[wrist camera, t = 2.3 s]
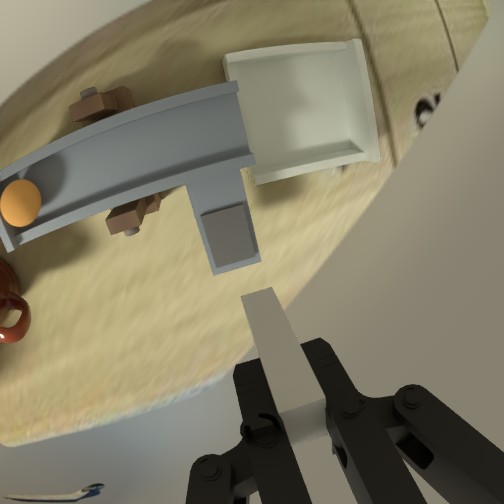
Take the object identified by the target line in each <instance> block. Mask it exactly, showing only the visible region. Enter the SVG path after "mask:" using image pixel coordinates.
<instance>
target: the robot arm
mask: <svg viewBox="0 0 504 504" xmlns="http://www.w3.org/2000/svg"><path fill="white" fill-rule="evenodd" d="M241 299H242V303H243V306H244V309H245V313H246V316H247V320H248V323H249V326H250V330H251V333H252V336H253V340H254V343H255V346H256V349H257V352H258V355H259V358H257V359H254V360H251V361H247V362H244V363H241V364H237V365H236V366H235V369H234V373H233V379H234V384H235V387H236V393H237V396H238V401H239V406H240V410H241V414H242V419H243V422H242V424H241V426H240V433H241V435H242V437H243V438H242V440H241V441H240V443H239V444H238V445H237V446H236V447H234V448H233V449H231V450H229V451H227V452H226V453H224V454H222V455H216V454H209V455H204V456H202V457H200V458H198V459H197V460H196V461H195V462H194V463H193V465H192V468H191V470H190V477H189V484H188V491H187V497H186V504H249V498H250V495H251V494H253V493H254V492H256V491H259V495H260V498H261V502H262V504H312V502H311V499H310V496H309V494H308V491H307V488H306V485H305V483H304V480H303V477H302V474H301V472H300V469H299V466H298V463H297V461H296V458H295V455H294V452H293V449H292V447H293V446H296V445H299V444H303V443H305V442H308V441H311V440H314V439H317V438H320V437H323V436H325V435H327V434H328V432H329V434H330V437H331V439H332V452H333V454H336V456H337V458H338V460H339V462H340V465H341V467H342V469H343V471H344V474H345V476H346V478H347V481H348V483H349V485H350V487H351V490H352V492H353V494H354V496H355V498H356V501H357V502H358V504H427V502H426V501H425V499H424V497H423V495H422V493H421V492H420V490H419V488H418V486H417V484H416V482H415V481H414V479H413V477H412V475H411V474H410V472H409V470H408V468H407V466H406V465H405V463H404V461H403V459H404V460H405V461H406V462H407V463H408V464H409V465H410V466H411V467H412V468H413V469H414V470H415V471H416V472H417V473H418V474H419V475H420V476H421V477H422V478H423V479H424V480H425V481H426V482H427V483H428V484H430V486H432V487H433V488H434V489H435V490H436V491H437V492H438V493H439V494H440V495H441V496H442V497H443V498H444V499H445V500H446V501H447V502H449V503H450V504H504V452H503V451H501V450H500V449H499V448H498V447H496V446H495V445H494V444H493V443H492V442H490V441H489V440H488V439H487V438H486V437H484V436H483V435H482V434H481V433H479V432H478V431H477V430H475V429H474V428H473V427H472V426H471V425H470V424H468V423H467V422H466V421H465V420H463V419H462V418H461V417H460V416H459V415H457V414H456V413H455V412H454V411H452V410H451V409H450V408H449V407H447V406H446V405H445V404H444V403H443V402H441V401H440V400H439V399H438V398H437V397H435V396H434V395H433V394H432V393H430V392H429V391H428V390H427V389H425V388H424V387H422V386H420V385H415V384H411V385H406V386H404V387H402V388H400V389H399V390H398V391H397V392H396V394H395V395H393V396H388V397H381V398H371V397H367V396H364V395H362V394H361V393H360V392H358V390H357V389H356V388H355V386H354V384H353V383H352V381H351V380H350V378H349V376H348V374H347V373H346V371H345V369H344V368H343V366H342V364H341V363H340V361H339V359H338V357H337V356H336V355H335V352H334V350H333V349H332V347H331V345H330V344H329V343H328V342H326V341H324V340H323V339H322V338H317V339H314V340H311V341H308V342H305V343H302V344H299V342H298V340H297V337H296V335H295V333H294V331H293V329H292V327H291V325H290V323H289V321H288V319H287V317H286V315H285V313H284V311H283V309H282V307H281V305H280V303H279V300H278V298H277V296H276V294H275V292H274V290H273V288H272V287H270V288H267V289H263V290H260V291H257V292H253V293H250V294H247V295H243V296H241ZM401 457H402V458H403V459H402V458H401Z"/></svg>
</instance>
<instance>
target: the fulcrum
mask: <svg viewBox="0 0 504 504" xmlns="http://www.w3.org/2000/svg"><path fill="white" fill-rule="evenodd" d="M80 94H81V98H82V100H81V101H79V102H77V103H75V104H72V105H70V106H69V109H70V113H71V117H72V120H73V122H78V121H82V122H83V126H84V127H86V126H88V125H91V124H93V123H96V122H98V121H101V120H103V119H106V118H108V117H111V116H113V115H116V114H119V113H121V112H124V111H127V110H130V109H133V108H134V107H133V103H132V100H131V96H130V92H129V89H127V88H125V87H123V86H121V87H119V88H116V89H113V90H111V91H108V92H106V93H98V94H97V90H96V87H92V88H89V89H86V90H84V91H82V92H81V93H80ZM160 203H161V199H160V196H159V193H155V194H152V195H149V196H146V197H143V198H140V199H137V200H134V201H131V202H128V203H125V204H122V205H120V206H117V207H114V208H111V209H110V210H111V212H110V214H109V215H108V217H107V218H106V220H105V221H106V224H107V226H108V229H109V231H110V234H111V235H113V234H116V233H119V232H122V231H124V233H125V235H126V236H131V235H134V234H136V233H138V232H139V231H140V229H139V226H140V225H141V224H142V221H143V218H144V215H146V214H149V213H152V212H155V211H159V207H160Z"/></svg>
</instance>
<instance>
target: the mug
mask: <svg viewBox="0 0 504 504" xmlns="http://www.w3.org/2000/svg"><path fill="white" fill-rule="evenodd" d="M14 310H19V311H22V314H21V317H20V319H19V321H18V322H17V323H16V325H14V326H13V327H10V328H4V327H3V326H4V324H5V323H6V321H7V320H8V318H9V316H10V315H11V314H12V313H13V311H14ZM30 324H31V311H30V307H29V305H28V303H27V302H26V301H25V300H24V299H23V298H22V297H20V287H19V282H18V279H17V277H16V274H15V273H14V271H13V270H12V268H11V267H10V266H9V265H8V264H7V263H6V262H5V261H4V260H2V259H1V258H0V343H2V342H4V343H14V342H18V341H20V340H21V339H22V338H23V337H24V336H25V335H26V333H27V331H28V329H29V327H30Z"/></svg>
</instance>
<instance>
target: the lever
mask: <svg viewBox="0 0 504 504" xmlns="http://www.w3.org/2000/svg"><path fill="white" fill-rule="evenodd" d="M236 92H239V87H238V83H237V80H234V81H229V82H225V83H220V84H216V85H211V86H207V87H203V88H199V89H195V90H191V91H188V92H184V93H180V94H177V95H173V96H170V97H166V98H163V99H160V100H157V101H154V102H150V103H147V104H144V105H141V106H138V107H135V108H133V109H130V110H127V111H124V112H121V113H119V114H116V115H113V116H111V117H108V118H106V119H103V120H101V121H98V122H96V123H93V124H91V125H88V126H86V127H84V128H81V129H79V130H77V131H75V132H72V133H70V134H68V135H66V136H64V137H62V138H59V139H57V140H55V141H53V142H51V143H49V144H47V145H45V146H43V147H41V148H39V149H37V150H35V151H34V152H32V153H30V154H28V155H26V156H24V157H22V158H21V159H19V160H17V161H15V162H14V163H12V164H10V165H8V166H7V167H5V168H3V169H2V170H0V201H1V197H2V194H3V192H4V190H5V188H6V187H7V186H8V185H9V184H10V183H12V182H13V181H16V180H20V179H25V180H28V181H31V182H32V183H33V184H35V185H36V187H37V188H38V190H39V192H40V195H41V208H40V211H39V214H38V216H37V217H36V218H35V220H34V221H33V222H31V223H30V224H28V225H26V226H22V227H17V226H13V225H11V224H9V223H8V222H7V221H6V220H5V219H4V217H3V215H2V212H1V208H0V237H1V239H2V241H3V243H4V246H5V248H6V250H7V252H8V253H9V252H11V251H13V250H15V249H16V248H17V247H18V246H19V245H21V244H23V243H26V242H28V241H30V240H33V239H35V238H37V237H39V236H42V235H44V234H47V233H49V232H51V231H54V230H56V229H59V228H61V227H64V226H66V225H69V224H71V223H74V222H76V221H79V220H81V219H84V218H87V217H89V216H92V215H95V214H97V213H100V212H103V211H106V210H108V209H111V208H114V207H117V206H120V205H122V204H125V203H128V202H131V201H134V200H137V199H140V198H143V197H146V196H149V195H152V194H155V193H158V192H161V191H164V190H168V189H171V188H174V187H177V186H181V185H184V184H186V188H187V191H188V195H189V198H190V201H191V205H192V208H193V211H194V215H195V218H196V221H197V225H198V228H199V231H200V234H201V237H202V241H203V244H204V247H205V250H206V253H207V256H208V260H209V263H210V266H211V269H212V272H213V275H218V274H221V273H224V272H228V271H231V270H234V269H238V268H241V267H245V266H248V265H251V264H255V263H258V262H261V258H260V253H259V249H258V245H257V240H256V236H255V232H254V227H253V223H252V219H251V215H250V210H249V206H248V202H247V198H246V193H245V189H244V185H243V180H242V176H241V172H240V169H241V168H245V167H249V166H253V165H256V162H255V157H254V153H252V152H250V149H249V145H248V140H247V136H246V131H245V127H244V123H243V118H242V114H241V110H240V105H239V101H238V97H237V93H236Z"/></svg>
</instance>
